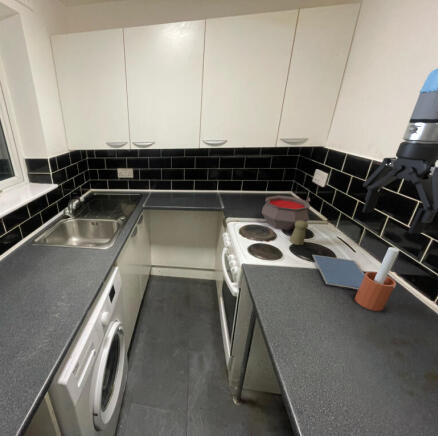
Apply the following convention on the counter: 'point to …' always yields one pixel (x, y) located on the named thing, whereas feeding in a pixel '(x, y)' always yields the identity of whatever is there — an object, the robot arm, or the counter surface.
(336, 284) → the tablet
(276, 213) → the cauldron
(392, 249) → the stylus
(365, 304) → the pen pot
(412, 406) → the counter surface
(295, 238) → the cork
